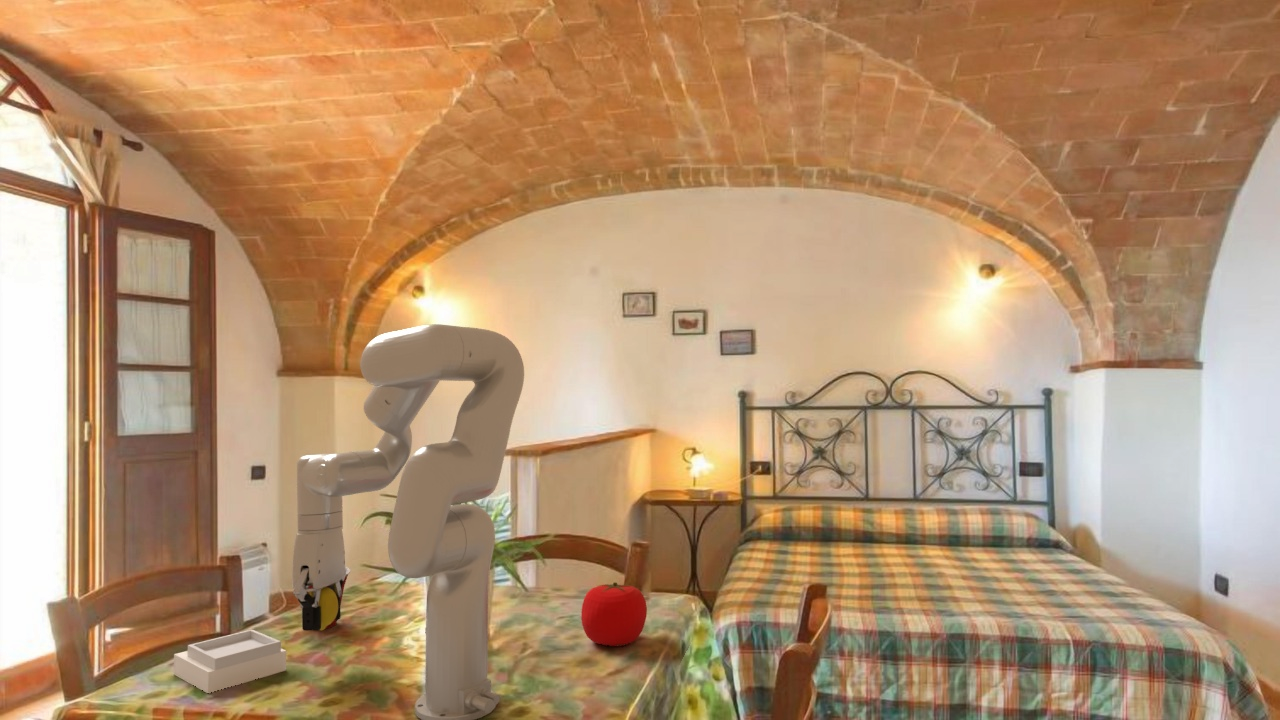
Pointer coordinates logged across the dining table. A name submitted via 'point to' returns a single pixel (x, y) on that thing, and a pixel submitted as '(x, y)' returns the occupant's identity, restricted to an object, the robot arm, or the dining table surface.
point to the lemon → (327, 606)
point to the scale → (230, 660)
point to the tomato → (613, 614)
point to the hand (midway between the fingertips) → (321, 623)
